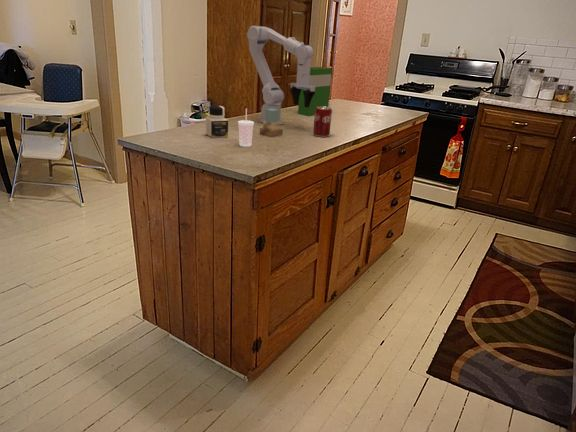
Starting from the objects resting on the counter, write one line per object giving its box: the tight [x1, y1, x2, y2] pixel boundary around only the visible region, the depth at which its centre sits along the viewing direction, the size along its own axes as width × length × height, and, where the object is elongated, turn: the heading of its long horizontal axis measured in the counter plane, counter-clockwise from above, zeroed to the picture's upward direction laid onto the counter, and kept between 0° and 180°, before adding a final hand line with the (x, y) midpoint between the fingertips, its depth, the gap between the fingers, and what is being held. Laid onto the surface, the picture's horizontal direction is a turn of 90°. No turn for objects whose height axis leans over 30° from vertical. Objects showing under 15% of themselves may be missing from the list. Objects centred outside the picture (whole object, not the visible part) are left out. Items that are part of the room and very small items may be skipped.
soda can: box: [312, 106, 333, 138], centre depth 190 cm, size 7×7×12 cm
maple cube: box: [262, 121, 281, 130], centre depth 187 cm, size 5×5×3 cm
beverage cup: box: [237, 108, 255, 148], centre depth 166 cm, size 6×6×14 cm
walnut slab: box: [259, 127, 284, 138], centre depth 188 cm, size 7×7×3 cm
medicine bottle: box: [205, 104, 229, 139], centre depth 178 cm, size 7×7×12 cm
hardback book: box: [297, 66, 333, 117], centre depth 237 cm, size 18×7×24 cm, turn 141°
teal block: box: [265, 109, 279, 123], centre depth 185 cm, size 4×4×5 cm
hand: (301, 105), depth 199 cm, fingers open, 7 cm apart
